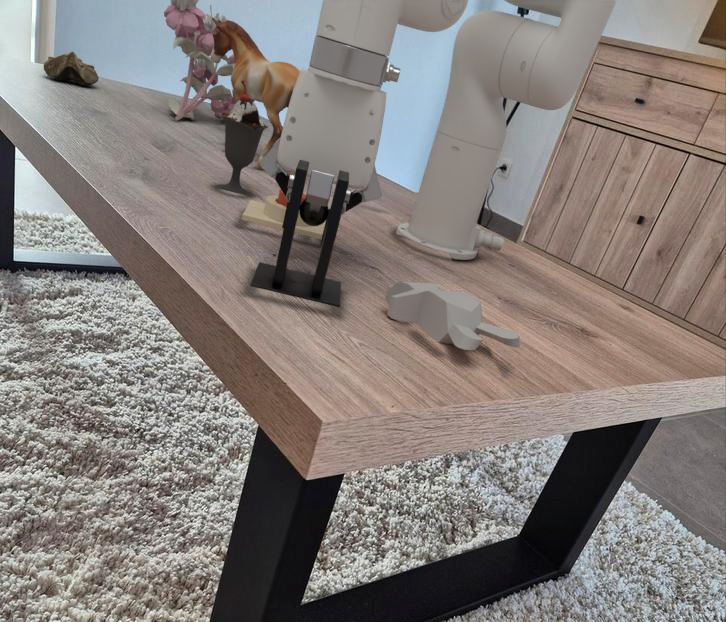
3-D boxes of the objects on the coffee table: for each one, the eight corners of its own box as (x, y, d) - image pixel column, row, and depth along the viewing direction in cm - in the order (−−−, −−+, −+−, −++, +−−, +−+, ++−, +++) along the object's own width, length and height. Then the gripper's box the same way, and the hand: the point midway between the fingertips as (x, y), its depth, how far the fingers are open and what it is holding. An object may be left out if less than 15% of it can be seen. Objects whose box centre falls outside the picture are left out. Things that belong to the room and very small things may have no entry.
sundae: (220, 181, 102) (236, 76, 96) (261, 194, 102) (281, 89, 95) (202, 188, 97) (218, 76, 90) (246, 202, 96) (266, 91, 89)
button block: (327, 231, 94) (333, 207, 92) (325, 248, 87) (331, 222, 85) (248, 211, 92) (253, 186, 91) (240, 227, 85) (244, 200, 84)
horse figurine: (193, 135, 127) (210, 14, 118) (229, 140, 132) (248, 24, 123) (283, 189, 108) (311, 50, 99) (321, 192, 113) (351, 60, 104)
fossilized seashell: (103, 75, 146) (55, 70, 145) (95, 46, 140) (45, 41, 140) (95, 97, 142) (46, 93, 142) (87, 69, 137) (36, 64, 136)
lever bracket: (257, 272, 73) (280, 151, 67) (338, 291, 74) (368, 175, 68) (248, 295, 67) (273, 164, 61) (337, 316, 68) (370, 190, 62)
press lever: (296, 225, 76) (302, 197, 76) (323, 232, 76) (330, 204, 76) (300, 196, 64) (307, 163, 64) (333, 205, 64) (340, 172, 64)
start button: (305, 206, 90) (308, 193, 89) (303, 213, 87) (306, 200, 86) (278, 199, 89) (281, 186, 89) (275, 206, 86) (278, 192, 85)
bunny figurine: (437, 272, 76) (537, 318, 65) (427, 316, 78) (523, 367, 67) (369, 270, 70) (466, 319, 59) (360, 317, 72) (452, 373, 61)
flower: (262, 138, 134) (289, 14, 134) (145, 98, 126) (173, -35, 126) (242, 160, 153) (266, 51, 152) (139, 127, 145) (164, 11, 144)
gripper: (422, 86, 72) (376, 249, 81) (270, 41, 70) (238, 214, 78) (430, 92, 66) (378, 269, 74) (262, 42, 63) (228, 231, 72)
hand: (307, 239), depth 76 cm, fingers closed on press lever, 3 cm apart
